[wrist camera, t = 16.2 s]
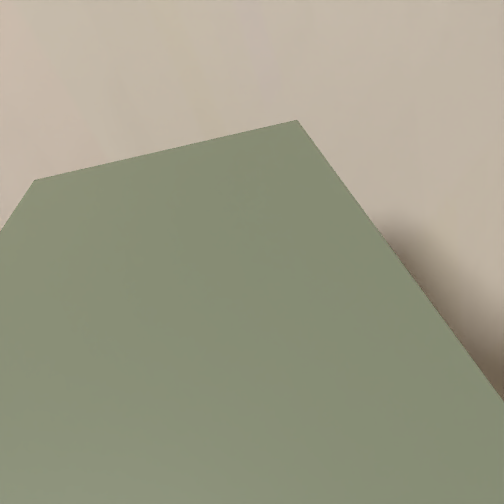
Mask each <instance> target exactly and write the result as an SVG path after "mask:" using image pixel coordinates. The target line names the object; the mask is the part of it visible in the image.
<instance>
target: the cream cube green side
mask: <svg viewBox="0 0 504 504" xmlns="http://www.w3.org/2000/svg"><path fill="white" fill-rule="evenodd" d="M0 504H504V401H503V400H502V399H501V397H500V396H499V395H498V393H497V392H496V390H495V389H494V388H493V386H492V385H491V384H490V382H489V381H488V380H487V378H486V377H485V375H484V374H483V373H482V371H481V370H480V369H479V367H478V366H477V365H476V363H475V362H474V360H473V359H472V358H471V356H470V355H469V354H468V352H467V351H466V350H465V348H464V347H463V345H462V344H461V343H460V341H459V340H458V339H457V337H456V336H455V335H454V333H453V332H452V330H451V329H450V328H449V326H448V325H447V324H446V322H445V321H444V320H443V318H442V317H441V315H440V314H439V313H438V311H437V310H436V309H435V307H434V306H433V305H432V303H431V302H430V300H429V299H428V298H427V296H426V295H425V294H424V292H423V291H422V290H421V288H420V287H419V285H418V284H417V283H416V281H415V280H414V279H413V277H412V276H411V275H410V273H409V272H408V270H407V269H406V268H405V266H404V265H403V264H402V262H401V261H400V260H399V258H398V257H397V255H396V254H395V253H394V251H393V250H392V249H391V247H390V246H389V245H388V243H387V242H386V240H385V239H384V238H383V236H382V235H381V234H380V232H379V231H378V230H377V228H376V227H375V225H374V224H373V223H372V221H371V220H370V219H369V217H368V216H367V215H366V213H365V212H364V210H363V209H362V208H361V206H360V205H359V204H358V202H357V201H356V200H355V198H354V197H353V196H352V194H351V193H350V191H349V190H348V189H347V187H346V186H345V185H344V183H343V182H342V181H341V179H340V178H339V176H338V175H337V174H336V172H335V171H334V170H333V168H332V167H331V166H330V164H329V163H328V161H327V160H326V159H325V157H324V156H323V155H322V153H321V152H320V151H319V149H318V148H317V146H316V145H315V144H314V142H313V141H312V140H311V138H310V137H309V136H308V134H307V133H306V131H305V130H304V129H303V127H302V126H301V125H300V123H299V122H298V121H297V120H294V121H290V122H286V123H281V124H277V125H273V126H268V127H264V128H260V129H255V130H251V131H246V132H242V133H238V134H233V135H229V136H225V137H220V138H216V139H212V140H207V141H203V142H199V143H194V144H190V145H185V146H181V147H177V148H172V149H168V150H164V151H159V152H155V153H151V154H146V155H142V156H138V157H133V158H129V159H125V160H120V161H116V162H111V163H107V164H103V165H98V166H94V167H90V168H85V169H81V170H77V171H72V172H68V173H64V174H59V175H55V176H50V177H46V178H42V179H37V180H34V182H33V183H32V185H31V186H30V188H29V189H28V191H27V192H26V194H25V195H24V197H23V198H22V200H21V201H20V203H19V204H18V206H17V207H16V209H15V210H14V212H13V213H12V215H11V216H10V218H9V219H8V221H7V222H6V224H5V225H4V227H3V228H2V230H1V231H0Z"/></svg>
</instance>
